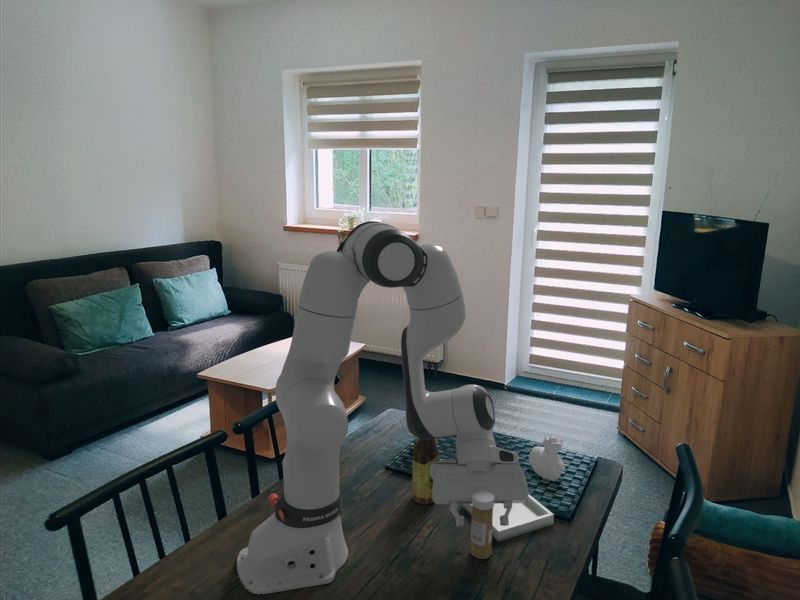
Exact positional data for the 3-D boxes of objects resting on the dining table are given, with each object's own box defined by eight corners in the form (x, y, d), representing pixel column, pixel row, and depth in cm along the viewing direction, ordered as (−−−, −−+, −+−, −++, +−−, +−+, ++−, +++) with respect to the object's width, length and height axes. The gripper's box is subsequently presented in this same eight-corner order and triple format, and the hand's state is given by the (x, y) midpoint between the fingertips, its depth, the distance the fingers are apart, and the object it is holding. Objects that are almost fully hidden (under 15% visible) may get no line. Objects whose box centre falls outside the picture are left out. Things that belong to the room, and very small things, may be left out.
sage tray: (498, 541, 129) (498, 531, 128) (461, 505, 142) (462, 496, 141) (553, 524, 135) (553, 514, 135) (513, 491, 148) (514, 482, 148)
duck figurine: (562, 491, 152) (586, 454, 153) (545, 480, 149) (569, 442, 150) (532, 469, 163) (554, 435, 164) (515, 459, 159) (538, 423, 160)
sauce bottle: (433, 508, 141) (435, 430, 136) (408, 502, 143) (409, 426, 138) (440, 493, 147) (443, 419, 142) (416, 488, 149) (418, 415, 144)
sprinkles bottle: (496, 555, 125) (499, 497, 121) (479, 562, 122) (482, 504, 119) (481, 543, 128) (484, 487, 125) (465, 550, 126) (467, 493, 123)
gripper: (430, 455, 127) (433, 523, 120) (525, 454, 128) (534, 521, 121) (428, 463, 132) (431, 529, 125) (519, 462, 133) (527, 527, 126)
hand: (482, 525), depth 123 cm, fingers open, 8 cm apart
